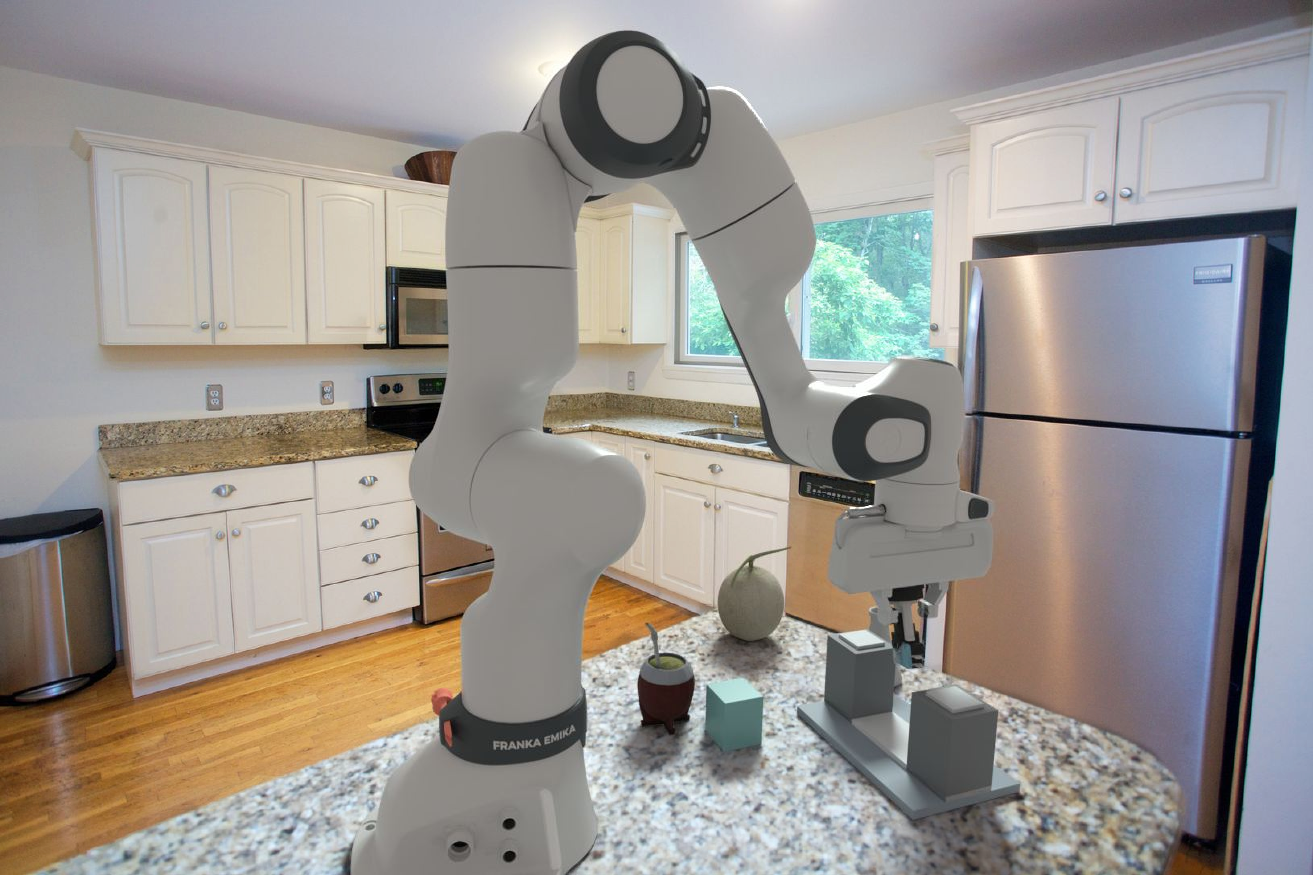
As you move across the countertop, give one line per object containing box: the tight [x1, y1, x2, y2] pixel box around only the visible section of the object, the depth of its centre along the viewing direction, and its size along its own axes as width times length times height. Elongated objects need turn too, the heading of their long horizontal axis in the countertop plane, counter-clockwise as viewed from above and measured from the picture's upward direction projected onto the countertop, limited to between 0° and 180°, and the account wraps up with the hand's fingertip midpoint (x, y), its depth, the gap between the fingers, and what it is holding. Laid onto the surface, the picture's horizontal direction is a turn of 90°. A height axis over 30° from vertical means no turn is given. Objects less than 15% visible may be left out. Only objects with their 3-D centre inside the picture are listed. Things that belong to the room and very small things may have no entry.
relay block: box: [704, 677, 764, 752], centre depth 87 cm, size 5×5×6 cm
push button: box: [887, 584, 926, 670], centre depth 84 cm, size 7×5×10 cm
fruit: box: [717, 546, 792, 642], centre depth 115 cm, size 10×12×15 cm
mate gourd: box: [636, 622, 696, 736], centre depth 89 cm, size 8×8×15 cm
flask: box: [867, 606, 903, 688], centre depth 103 cm, size 7×7×10 cm
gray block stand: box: [796, 628, 1021, 821], centre depth 85 cm, size 14×22×10 cm, turn 20°
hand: (907, 619), depth 84 cm, fingers closed on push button, 4 cm apart
